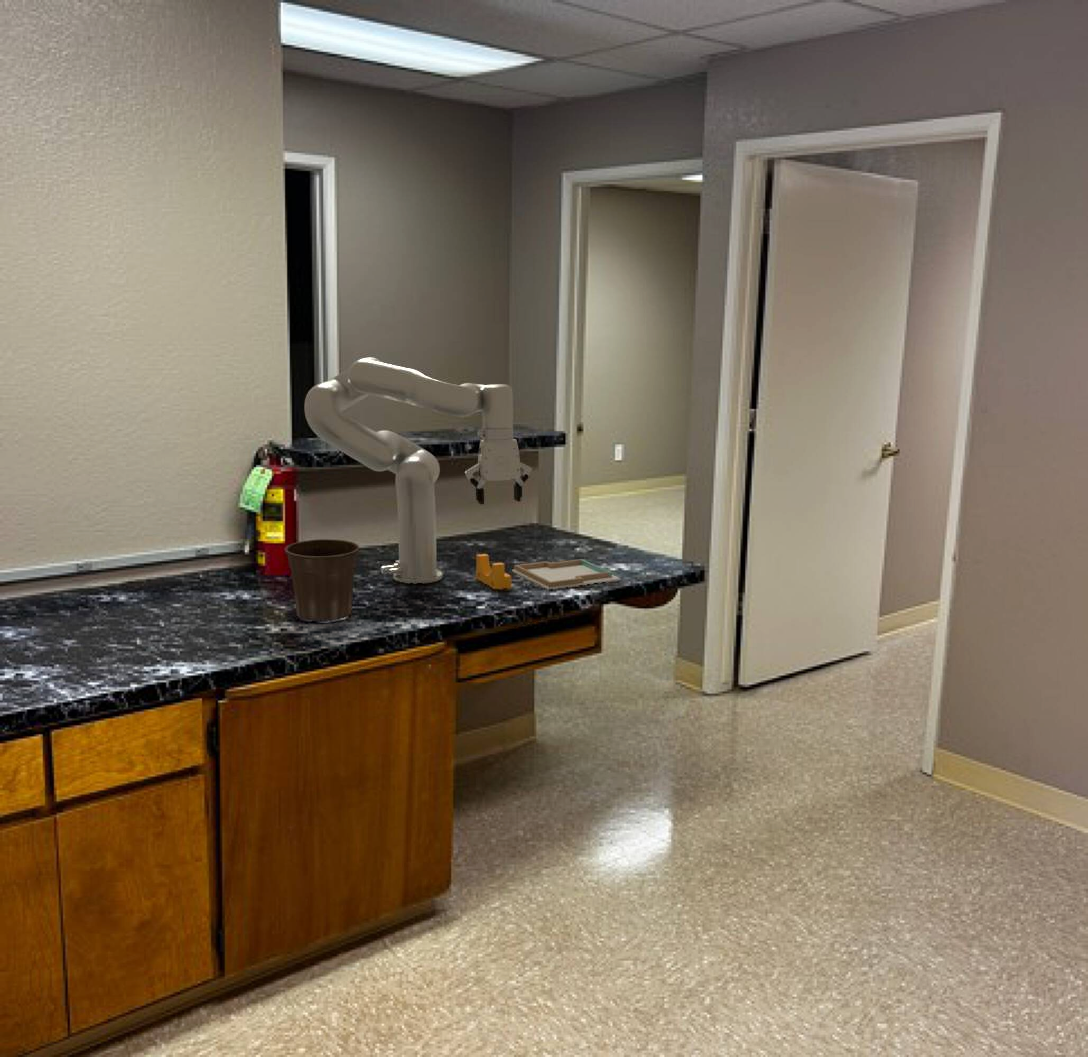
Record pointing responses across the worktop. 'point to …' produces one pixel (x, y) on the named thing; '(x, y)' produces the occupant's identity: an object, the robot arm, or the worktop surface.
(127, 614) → the worktop surface
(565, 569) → the shallow rimmed tray
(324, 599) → the plant pot
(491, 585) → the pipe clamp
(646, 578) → the worktop surface
